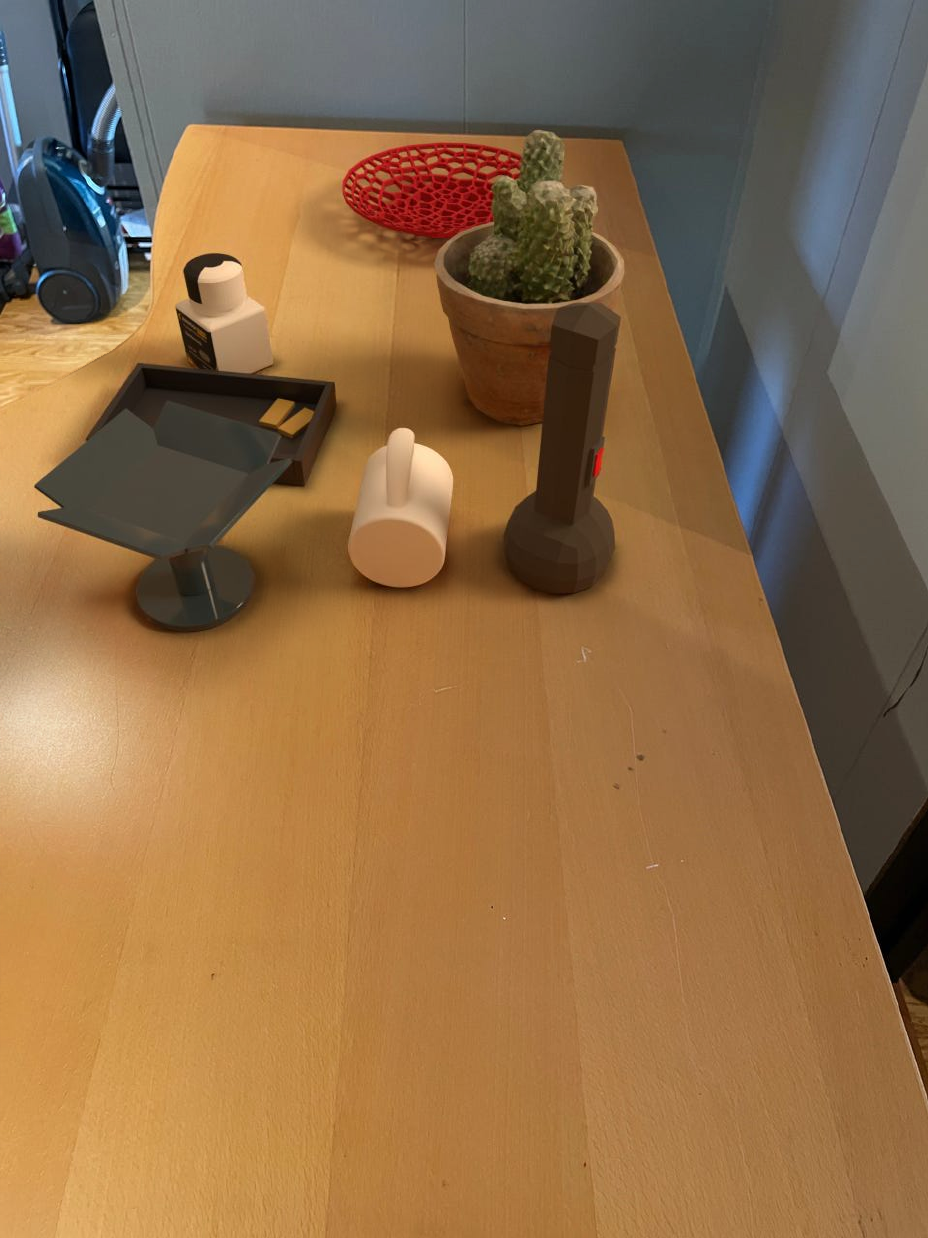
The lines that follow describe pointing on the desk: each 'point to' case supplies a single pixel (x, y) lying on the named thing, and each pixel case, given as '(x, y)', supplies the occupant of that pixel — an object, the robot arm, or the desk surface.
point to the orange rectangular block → (277, 413)
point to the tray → (231, 405)
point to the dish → (171, 506)
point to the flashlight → (569, 460)
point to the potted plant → (523, 281)
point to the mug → (402, 513)
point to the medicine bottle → (222, 318)
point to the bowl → (429, 189)
